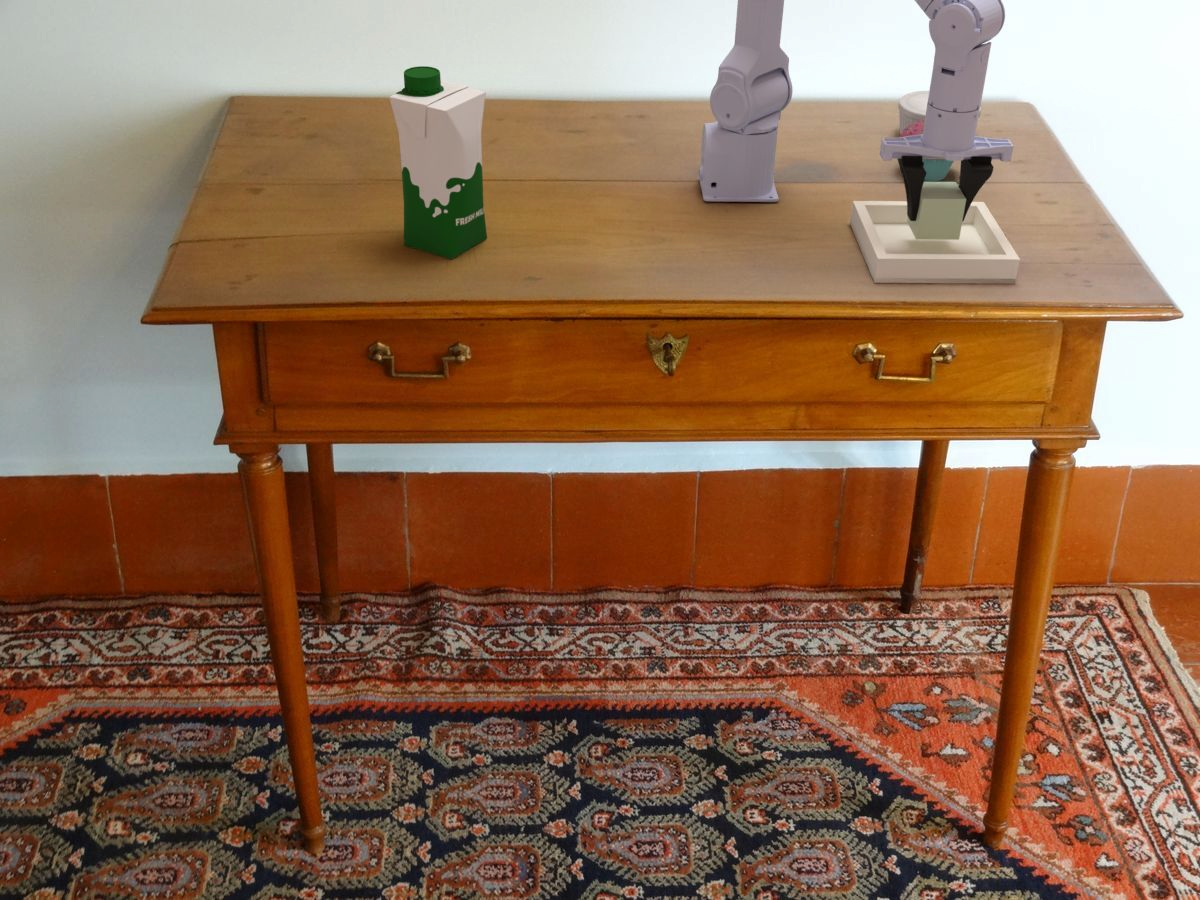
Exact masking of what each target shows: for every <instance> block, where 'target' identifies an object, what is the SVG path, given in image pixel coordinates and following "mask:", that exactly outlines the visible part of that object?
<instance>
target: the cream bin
mask: <svg viewBox="0 0 1200 900" xmlns="http://www.w3.org/2000/svg"><path fill="white" fill-rule="evenodd" d="M907 218H908V215H907V200H906V201H904V200H897V201H896V200H895V201H894V200H891V201H890V200H887V201H886V200H853V201H852V205H851V214H850V223H849V224H850V225H849V226H850V227H851V230H852V233H853V234H854V237H855V239H856V241H857V244H858V247H859V248H860V252H861V253H862V257H863V258H864V260H865V263H866V265H867V268H868V271H869V273H870V275H871V278H872V280H873V282H874V283H875V284H1005V285H1006V284H1010V285H1012V284H1013V285H1014V284H1016V281H1017V276H1018V271H1019V266H1020V262H1021V259H1020V257H1019V255H1018V254H1017V252H1016V250H1015V249H1014V247H1013V246H1012V244H1011V242H1010V240H1009V239H1008V238H1007V237H1006V235H1005V233H1004V231H1003V230H1002V229H1001V227H1000V226H999V225H1000V224H998V222H997V221H996V219H995V217H994V216H993V214H992V213H991V210H989V208H988V206H987V205H986V203H985V201H972V203H971V205H970V207H969V209H968V211H967V214H966V216H965V219H964V221H962V226H961V232H960V237H959V240H933V239H916V238H915V236H914V234H913V232H912V230H911V228H910V226H909V224H908V222H907Z"/></svg>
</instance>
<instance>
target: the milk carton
mask: <svg viewBox="0 0 1200 900" xmlns="http://www.w3.org/2000/svg"><path fill="white" fill-rule="evenodd" d="M403 82H404V83H403V84H404V87H403V88H402V89H401V90H400V91H396V93H394V94H392V95H390V96H389V101H390V104H391V108H392V112H393V116H394V120H395V123H396V127H397V131H398V132H397V133H398V141H399V151H400V153H399V154H400V165H401V166H400V167H401V182H402V196H403V245H404V246H406V247H408V248H412V249H416V250H419V251H423V252H426V253H430V254H433V255H436V256H440V257H442V258H446V259H449V260H453V259H455V258H457V257H458V256H460V255H461V254H463V253H465V252H466V251H469V250H470V249H472V248H473V247H475V246H477V245H479V244H480V243H482V242H484V241H485V240H486V239H488V235H487V234H488V233H487V224H486V217H485V208H484V207H485V206H484V205H485V204H484V184H483V183H484V182H483V181H484V180H483V155H482V151H483V150H482V148H483V147H482V129H483V128H482V126H483V119H484V118H483V117H484V110H485V102H486V94H487V92H486V91H484V90H481V89H475V88H471V87H469V86H468V85H465V84H458V83H454V82H449V81H445V80H441V71H440V70H439V68H436V67H433V66H421V65H420V66H413V67H412V66H411V67H409V68H407V69H405V70H404V72H403Z"/></svg>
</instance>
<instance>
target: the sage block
mask: <svg viewBox="0 0 1200 900" xmlns="http://www.w3.org/2000/svg"><path fill="white" fill-rule="evenodd" d="M965 204H966V198H965V196H964V195H963V193H962V191H961V190H960V188H959V184H958V183H957V181H924V183H923V186H922V190H921V195H920V202H919V209H918V214H917V218H916V221H910V219H909V217H908V218H907V222H908V224H909V226H910V228H911V230H912V232H913V234H914V236H915V238H916V239H933V240H959V237H960V232H961V226H962V221H963V215H964V209H965Z"/></svg>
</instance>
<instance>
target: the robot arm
mask: <svg viewBox="0 0 1200 900" xmlns="http://www.w3.org/2000/svg"><path fill="white" fill-rule="evenodd" d="M914 2H915V3H916V4H917V5H918V6H919V8H920V9H921V10H922V12H924V14H925V15H926V17H927V18H928V19H929V21H928V30H929V35H930V39H931V40H932V42H933V45H934V55H933V56H934V57H933V66H932V72H931V73H932V74H931V79H930V85H929V90H928V91H929V97H928V102H927V109H926V116H925V122H924V129H923V134H921V135H913V136H906V137H890V138H889V137H886V138H884V137H883V138H881V143H880V150H879V156H880V158H881V160H882V161H884V162H885V161H887V162H889V161H892V160H893V159H894V160H895V159H896V160H897V162H898V166H899V168H900V172H901V176H902V178H903V179H902V180H903V184H904V189H905V195H906V197H905V198H906V201H907V215H908V217H909V219H910V221H916V218H917V214H918V209H919V202H920V195H921V190H922V186H923V183H924V182H925V181H924V179H925V176H926V171H925V169H924V167H923V166H924V162H923V161H922V159H945V160H948V161H954V162H957V161H958V162H960V168H959V169H960V170H959V182H958V186H959V188H960V190H961V191H962V193H963V195H964V196H965V198H966V204H965V209H964V215H963V221H964V219H965V216H966V214H967V211H968V209H969V207H970V205H971V203H972V202H974V199H975V198H976V197H977V194H978V193H979V192H980V189H981V188H982V187H983V186H984V184H986V182H987V181H988V180H990V178H991V177H992V174H993V172H994V166H993V164H992V160H1000V162H1004V163H1007V162H1008V163H1010V162H1011V161H1012V158H1013V157H1012V156H1013V152H1014V146H1015V145H1013V143H1012V142H1011V140H1010V139H1007V138H1005V139H1003V138H992V137H991V138H990V137H984V136H977V135H976V132H977V127H978V123H979V122H978V121H979V118H978V116H979V110H980V107H981V104H982V98H983V94H984V87H985V83H986V76H987V72H988V71H987V70H988V66H989V65H988V64H989V58H990V52H991V46H992V42H991V40H993V38H995V37H996V36H997V35H998V34H999V33H1000V32H1001V31H1002V29H1003V27H1004V25H1005V20H1006V11H1005V10H1006V9H1005V6H1004V3H1003V2H1002V0H914ZM736 6H737V8H736V17H735V19H736V21H735V30H734V33H735V34H734V44H733V46H732V48H731V49H730V51H729V52H728V54H727V55H726V56H725V57H724V59H723V60H722V62H721V63H720V65H719V66H718V73H717V79H716V81H715V84H714V86H713V87H712V89H711V92H710V97H709V105H710V109H711V113H712V116H713V117H714V118H715V121H714V122H706V123H703V126H702V132H701V133H702V135H701V149H700V166H699V167H698V180H699V184H700V189H701V195H702V199H703V201H704V202H726V203H727V202H731V203H733V202H734V203H735V202H737V203H738V202H741V203H742V202H743V203H744V202H746V203H752V202H753V203H776V202H778V201H779V199H780V198H779V195H778V192H777V189H776V186H775V185H776V184H775V182H774V175H775V173H774V172H775V163H776V161H775V160H776V153H777V150H776V149H777V140H778V131H779V121H780V120H781V115H782V111H784V110H785V109H786V108H787V107H788V105H789V104H790V103H791V100H792V97H793V82H792V79H791V77H790V73H789V72H790V71H789V68H790V67H789V65H790V58H789V56H788V55H787V54H786V52H785V51H784V50H783V49H782V48H781V37H782V36H781V35H782V28H783V27H782V26H783V25H782V24H783V15H784V9H785V7H784V6H785V0H737V5H736Z"/></svg>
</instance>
